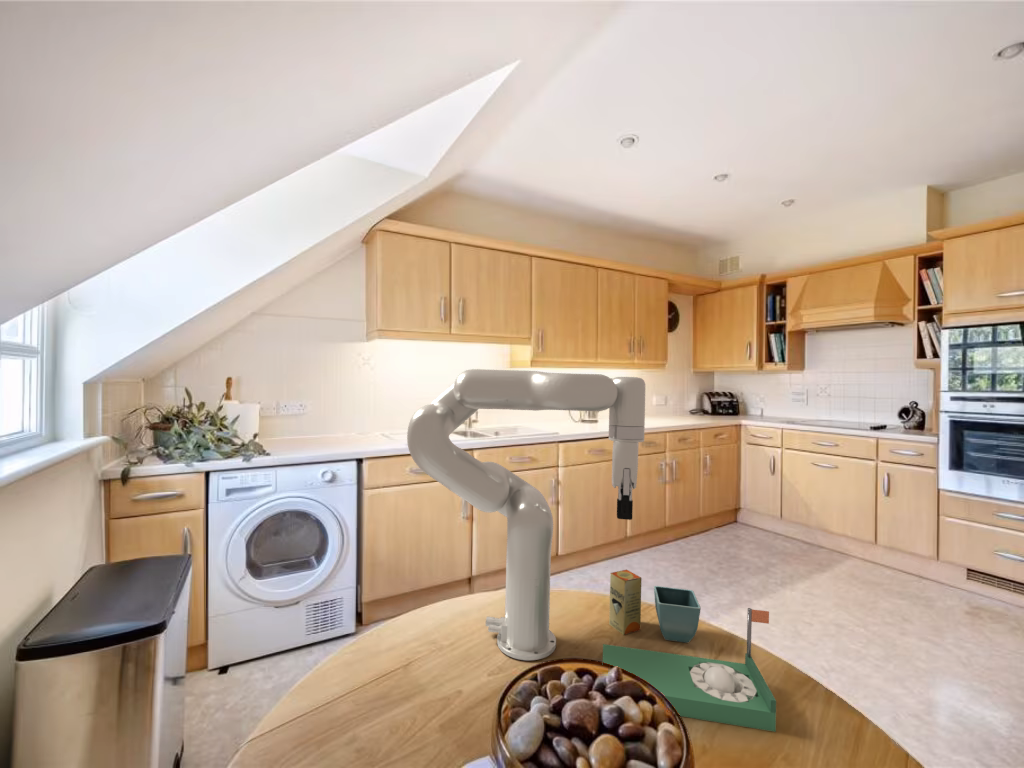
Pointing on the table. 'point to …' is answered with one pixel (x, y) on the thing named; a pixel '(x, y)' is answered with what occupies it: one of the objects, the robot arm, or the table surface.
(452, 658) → the table surface
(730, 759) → the table surface
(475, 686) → the table surface
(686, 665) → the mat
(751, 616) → the flag
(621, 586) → the shoe polish box
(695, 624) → the flower pot
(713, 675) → the ball
